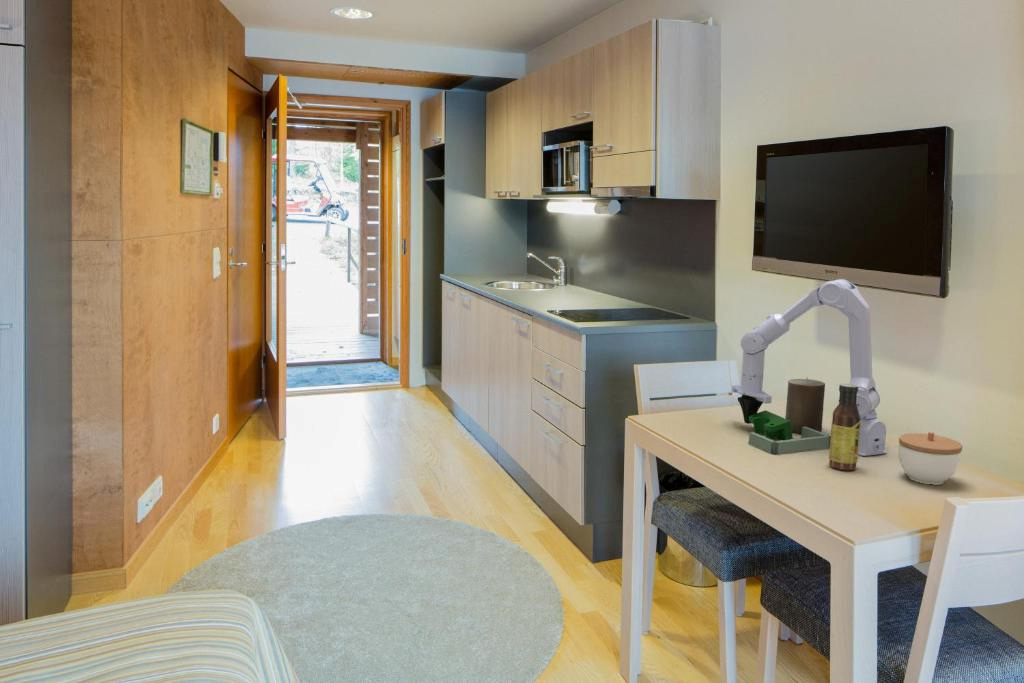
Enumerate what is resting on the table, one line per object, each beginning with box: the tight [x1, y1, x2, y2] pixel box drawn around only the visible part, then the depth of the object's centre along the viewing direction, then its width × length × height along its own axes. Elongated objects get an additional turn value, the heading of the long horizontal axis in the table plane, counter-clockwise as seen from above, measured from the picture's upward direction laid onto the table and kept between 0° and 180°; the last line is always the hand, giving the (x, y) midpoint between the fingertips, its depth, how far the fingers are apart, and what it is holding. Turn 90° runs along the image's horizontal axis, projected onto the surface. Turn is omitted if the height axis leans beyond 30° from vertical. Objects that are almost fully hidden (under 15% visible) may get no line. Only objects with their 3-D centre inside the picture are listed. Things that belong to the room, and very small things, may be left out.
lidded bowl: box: [898, 431, 963, 486], centre depth 177 cm, size 13×13×11 cm
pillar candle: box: [784, 377, 826, 435], centre depth 216 cm, size 10×10×15 cm
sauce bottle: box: [828, 383, 861, 471], centre depth 184 cm, size 7×6×20 cm
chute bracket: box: [748, 427, 831, 456], centre depth 201 cm, size 10×18×3 cm, turn 112°
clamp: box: [749, 409, 794, 441], centre depth 209 cm, size 12×6×9 cm, turn 10°
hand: (748, 422), depth 216 cm, fingers closed
